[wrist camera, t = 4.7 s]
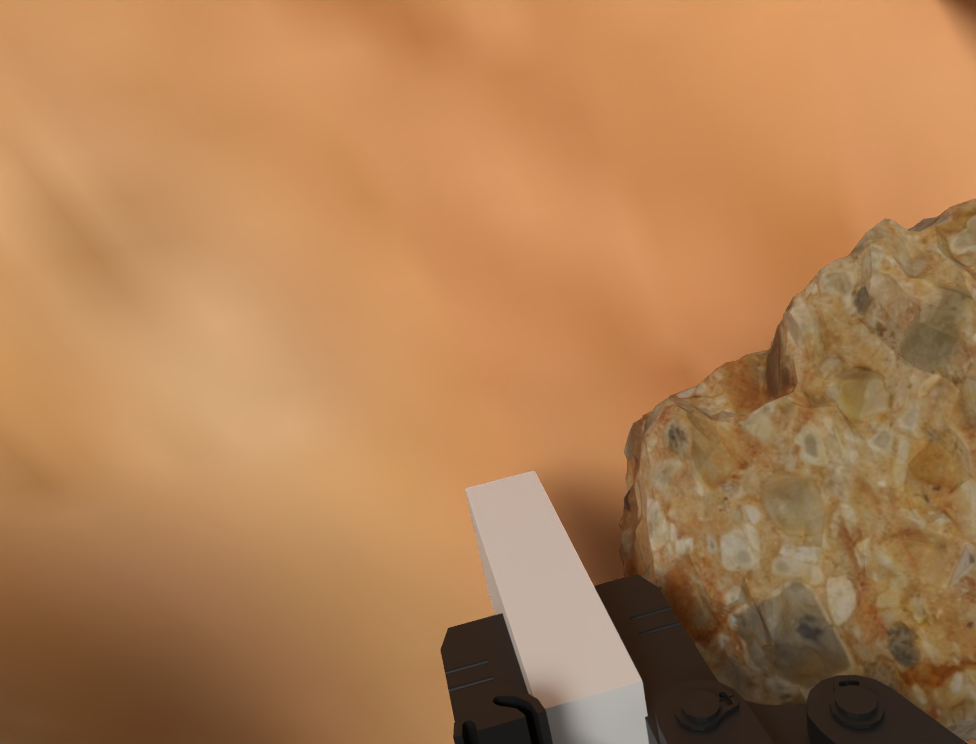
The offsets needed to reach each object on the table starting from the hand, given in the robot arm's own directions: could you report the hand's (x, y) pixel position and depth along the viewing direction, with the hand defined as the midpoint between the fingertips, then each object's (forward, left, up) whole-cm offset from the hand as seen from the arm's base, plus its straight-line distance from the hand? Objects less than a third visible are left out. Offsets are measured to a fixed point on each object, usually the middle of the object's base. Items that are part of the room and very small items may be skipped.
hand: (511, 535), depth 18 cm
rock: (+8, 0, -3) cm, 8 cm away
